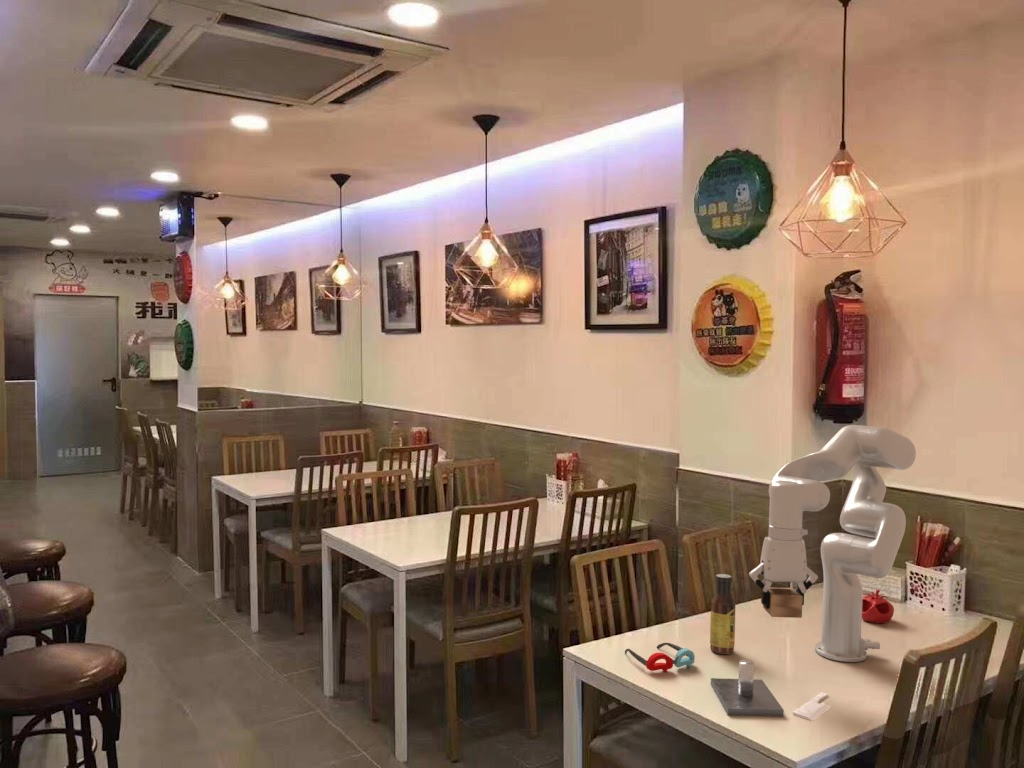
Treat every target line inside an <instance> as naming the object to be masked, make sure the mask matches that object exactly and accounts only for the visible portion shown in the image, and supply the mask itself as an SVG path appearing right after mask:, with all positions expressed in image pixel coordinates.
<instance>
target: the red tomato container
mask: <svg viewBox="0 0 1024 768" xmlns="http://www.w3.org/2000/svg"><path fill="white" fill-rule="evenodd" d="M880 592H881V590H880V589H875V591H870V592H868V593H867V592H866V593H864V595H863V597H862V620H864V621H865V622H868V621H869V623H874V622H875V624H880V623H882V624H887V623H886V622H888V623H889V622H890V621H891V620H892V618H893V616H894V613H895V607H894V606H893V604H892V603H891V602H889V600H887V599H889V596H886V595H885V593H881V594H879V593H880ZM886 598H887V599H886Z"/></svg>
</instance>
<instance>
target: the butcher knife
mask: <svg viewBox="0 0 1024 768" xmlns="http://www.w3.org/2000/svg"><path fill="white" fill-rule="evenodd" d="M825 697H826V698H828V697H829V694H828V693H825V692H822V691H821V692H819V693H818V694H817V695H815V696H814V697H812V698H811V699H809V700H807V701H806V702H805V703H804V704H802V705H801V706H799V707H798V708H797V709H796V710H794V711H793V712H792V715H793V716H796V717H799V718H802V719H805V720H807V721H810V722H814V721H815V720H816V719H818V718H819V717H820V716H822V715H824V713H825V712H827V711H828V710H829V709H831V706H830V705H827V704H826V703H825V702H821V700H823V699H825ZM819 702H821V703H819Z"/></svg>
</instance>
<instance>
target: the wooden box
mask: <svg viewBox="0 0 1024 768" xmlns="http://www.w3.org/2000/svg"><path fill="white" fill-rule="evenodd" d="M796 590H797V589H794V588H793V587H773V586H770V588H769V592H770V606H769V609H766V608H765V607H764V606H763V605H762V608H763V609H764V611H766V612H767V613H768V614H769V616H770V617H771V618H794V619H795V618H797V619H798V618H799V619H802V618H803V605H802V600H803V597H802V596H801V595H800V594H799V593H797V592H796Z"/></svg>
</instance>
